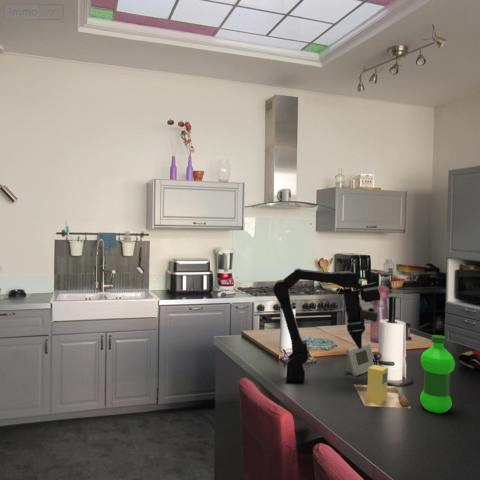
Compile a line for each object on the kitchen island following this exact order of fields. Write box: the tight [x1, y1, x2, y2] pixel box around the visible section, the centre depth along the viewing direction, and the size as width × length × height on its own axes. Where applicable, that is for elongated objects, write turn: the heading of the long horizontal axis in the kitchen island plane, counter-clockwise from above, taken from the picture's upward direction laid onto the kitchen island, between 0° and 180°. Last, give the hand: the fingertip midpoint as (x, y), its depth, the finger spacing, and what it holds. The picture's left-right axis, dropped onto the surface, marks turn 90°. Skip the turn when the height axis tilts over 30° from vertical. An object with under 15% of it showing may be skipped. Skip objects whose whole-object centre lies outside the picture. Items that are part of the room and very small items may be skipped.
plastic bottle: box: [419, 334, 456, 414], centre depth 163 cm, size 10×10×25 cm
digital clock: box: [345, 342, 375, 377], centre depth 204 cm, size 16×9×11 cm, turn 123°
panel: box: [353, 384, 411, 409], centre depth 175 cm, size 15×21×1 cm
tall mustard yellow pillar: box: [366, 364, 389, 405], centre depth 169 cm, size 5×5×12 cm
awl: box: [397, 391, 410, 407], centre depth 169 cm, size 2×10×2 cm, turn 177°
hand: (360, 346), depth 184 cm, fingers open, 9 cm apart
